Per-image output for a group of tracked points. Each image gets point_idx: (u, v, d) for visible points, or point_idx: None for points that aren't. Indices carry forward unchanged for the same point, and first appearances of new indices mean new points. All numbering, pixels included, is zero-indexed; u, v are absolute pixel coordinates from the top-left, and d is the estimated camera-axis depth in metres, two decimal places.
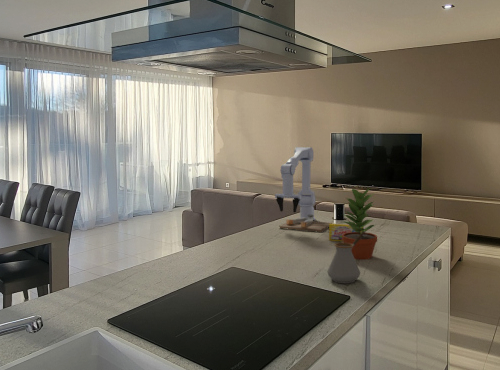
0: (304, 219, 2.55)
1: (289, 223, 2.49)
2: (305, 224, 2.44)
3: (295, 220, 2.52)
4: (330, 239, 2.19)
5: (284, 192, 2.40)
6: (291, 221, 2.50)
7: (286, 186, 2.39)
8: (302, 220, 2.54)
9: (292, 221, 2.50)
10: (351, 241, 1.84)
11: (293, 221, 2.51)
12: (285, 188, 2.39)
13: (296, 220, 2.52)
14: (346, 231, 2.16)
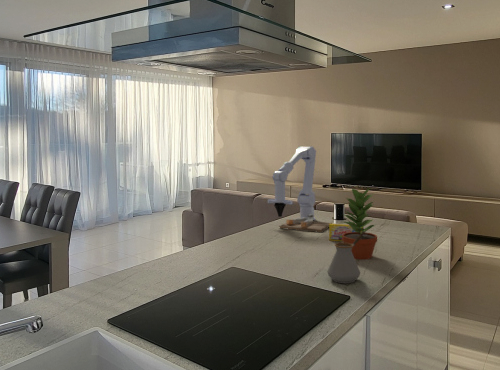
0: (304, 219, 2.55)
1: (289, 223, 2.49)
2: (305, 224, 2.44)
3: (295, 220, 2.52)
4: (330, 239, 2.19)
5: (276, 198, 2.50)
6: (291, 221, 2.50)
7: (276, 192, 2.50)
8: (302, 220, 2.54)
9: (292, 221, 2.50)
10: (351, 241, 1.84)
11: (293, 221, 2.51)
12: (277, 194, 2.50)
13: (296, 220, 2.52)
14: (346, 231, 2.16)
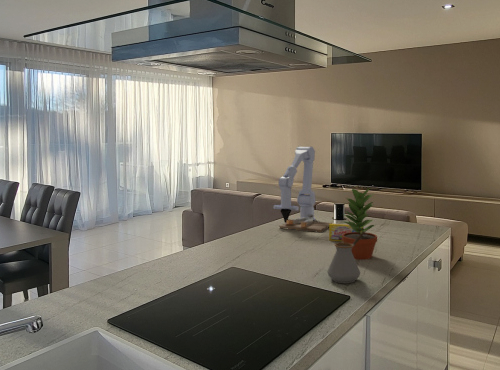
0: (304, 219, 2.55)
1: (289, 223, 2.49)
2: (305, 224, 2.44)
3: (295, 220, 2.52)
4: (330, 239, 2.19)
5: (282, 204, 2.49)
6: (291, 221, 2.50)
7: (283, 198, 2.48)
8: (302, 220, 2.54)
9: (292, 221, 2.50)
10: (351, 241, 1.84)
11: (293, 221, 2.51)
12: (283, 200, 2.48)
13: (296, 220, 2.52)
14: (346, 231, 2.16)
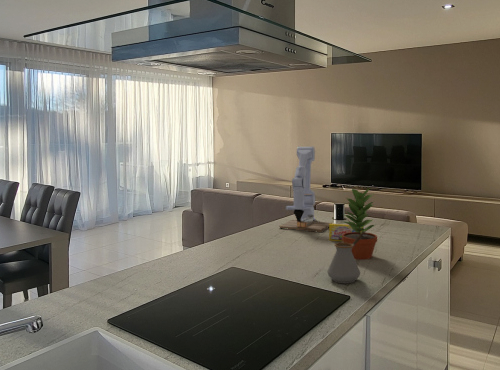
0: (307, 219, 2.54)
1: (300, 225, 2.44)
2: (305, 224, 2.44)
3: (303, 221, 2.48)
4: (330, 239, 2.19)
5: (295, 204, 2.46)
6: None
7: (298, 199, 2.44)
8: None
9: None
10: (351, 241, 1.84)
11: None
12: (296, 200, 2.45)
13: (303, 221, 2.49)
14: (346, 231, 2.16)
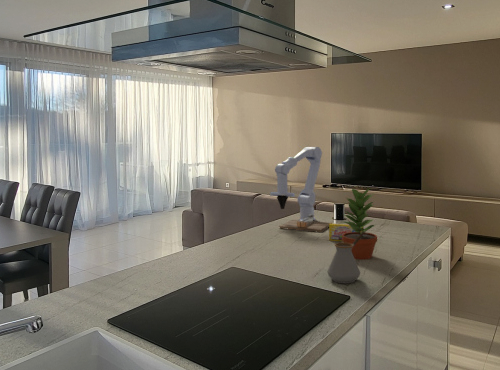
0: (307, 219, 2.54)
1: (300, 225, 2.44)
2: (305, 224, 2.44)
3: (303, 221, 2.48)
4: (330, 239, 2.19)
5: (279, 190, 2.53)
6: None
7: (279, 184, 2.53)
8: None
9: None
10: (351, 241, 1.84)
11: None
12: (280, 186, 2.52)
13: (303, 221, 2.49)
14: (346, 231, 2.16)
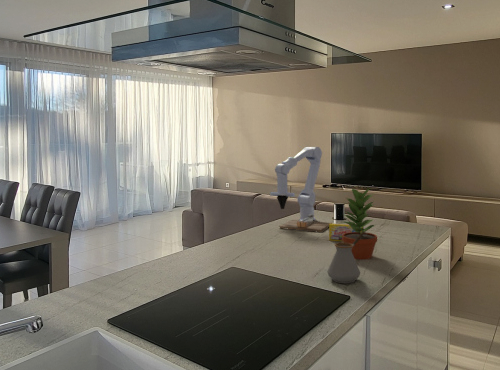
0: (307, 219, 2.54)
1: (300, 225, 2.44)
2: (305, 224, 2.44)
3: (303, 221, 2.48)
4: (330, 239, 2.19)
5: (279, 190, 2.53)
6: None
7: (279, 184, 2.53)
8: None
9: None
10: (351, 241, 1.84)
11: None
12: (280, 186, 2.52)
13: (303, 221, 2.49)
14: (346, 231, 2.16)
